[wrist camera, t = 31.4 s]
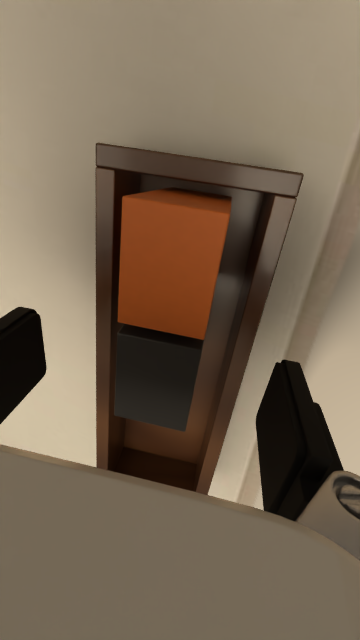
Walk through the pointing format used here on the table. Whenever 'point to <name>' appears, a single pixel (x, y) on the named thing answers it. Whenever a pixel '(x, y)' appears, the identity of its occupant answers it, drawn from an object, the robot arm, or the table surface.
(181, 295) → the orange tall block
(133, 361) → the black block
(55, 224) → the table surface
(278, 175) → the holder
